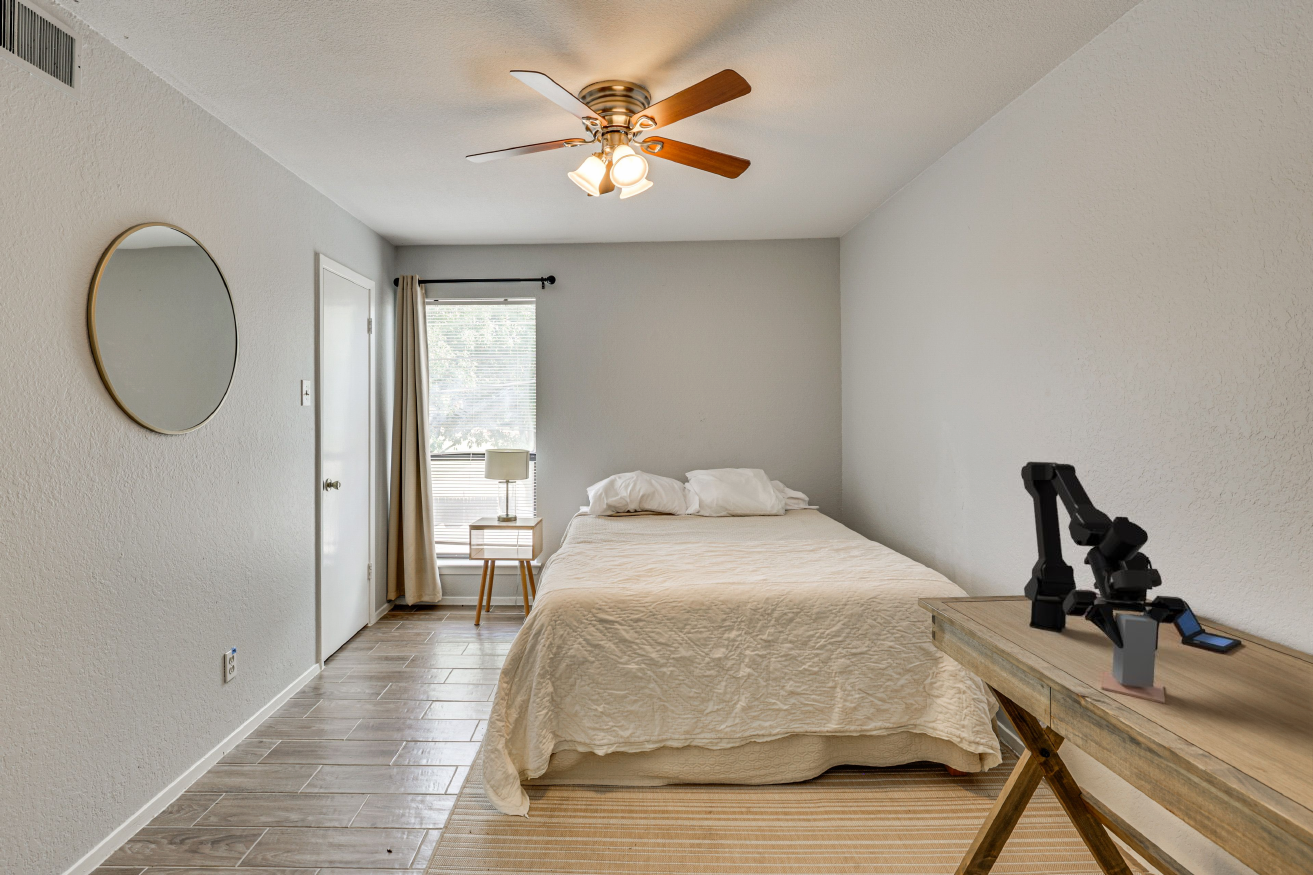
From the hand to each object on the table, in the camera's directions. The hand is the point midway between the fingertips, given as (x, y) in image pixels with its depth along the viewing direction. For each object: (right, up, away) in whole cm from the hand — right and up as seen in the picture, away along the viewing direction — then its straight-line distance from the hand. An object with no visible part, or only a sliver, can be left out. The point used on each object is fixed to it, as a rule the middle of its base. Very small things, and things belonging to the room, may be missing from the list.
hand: (1138, 648), depth 113 cm
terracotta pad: (0, -8, +2) cm, 8 cm away
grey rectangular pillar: (0, -7, +2) cm, 7 cm away
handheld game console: (+35, -8, +27) cm, 45 cm away
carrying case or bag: (+38, -7, +54) cm, 67 cm away
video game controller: (+22, -7, +47) cm, 53 cm away
